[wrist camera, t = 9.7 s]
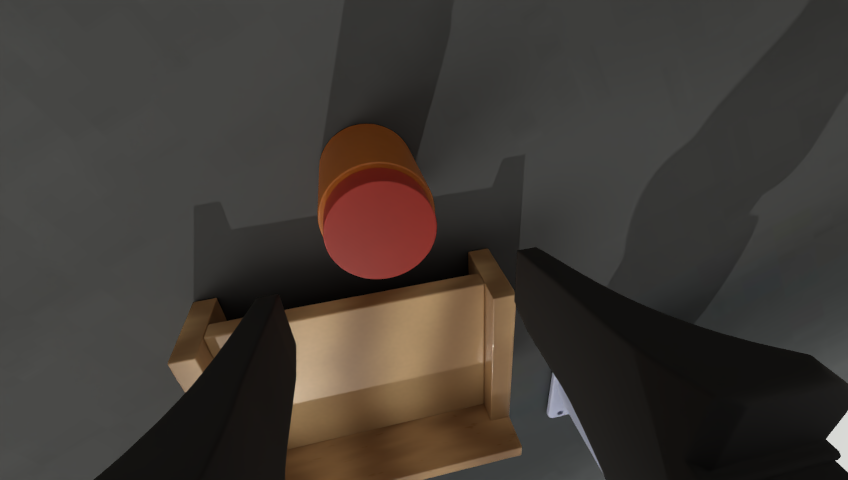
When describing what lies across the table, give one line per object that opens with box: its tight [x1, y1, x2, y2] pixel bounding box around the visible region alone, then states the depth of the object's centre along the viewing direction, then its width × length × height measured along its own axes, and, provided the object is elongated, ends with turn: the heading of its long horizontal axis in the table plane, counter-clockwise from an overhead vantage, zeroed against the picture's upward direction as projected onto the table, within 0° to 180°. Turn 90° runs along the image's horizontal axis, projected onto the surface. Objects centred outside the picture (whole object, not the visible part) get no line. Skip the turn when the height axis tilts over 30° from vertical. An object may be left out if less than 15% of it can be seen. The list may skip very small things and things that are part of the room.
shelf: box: [168, 249, 522, 480], centre depth 22 cm, size 16×11×6 cm, turn 94°
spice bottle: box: [318, 124, 437, 279], centre depth 17 cm, size 4×4×6 cm
